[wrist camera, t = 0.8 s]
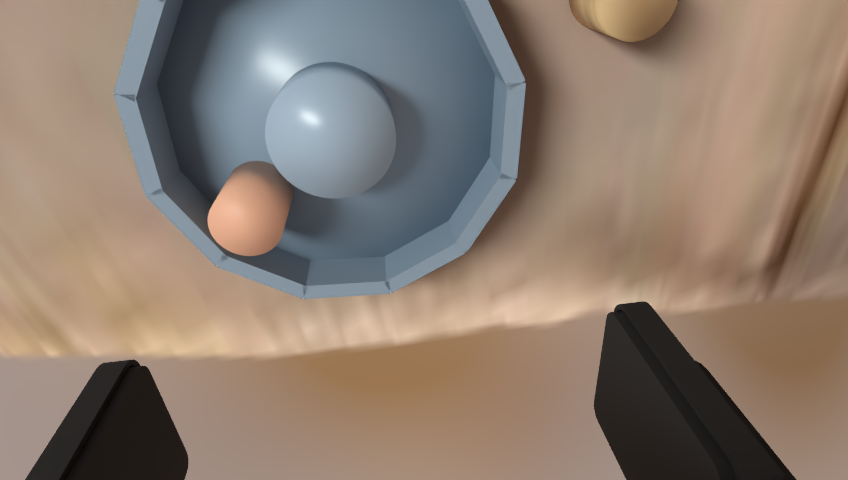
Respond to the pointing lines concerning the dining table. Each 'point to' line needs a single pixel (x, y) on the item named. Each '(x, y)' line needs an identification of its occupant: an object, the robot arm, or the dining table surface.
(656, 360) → the robot arm
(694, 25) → the dining table surface
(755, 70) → the dining table surface
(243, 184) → the bead
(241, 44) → the tray
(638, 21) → the bead
